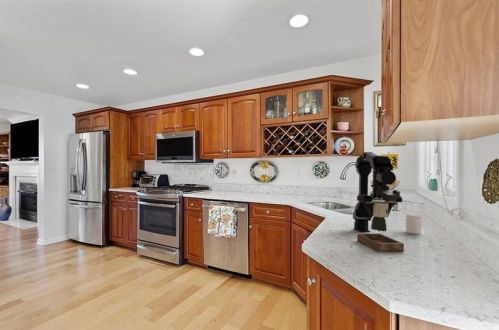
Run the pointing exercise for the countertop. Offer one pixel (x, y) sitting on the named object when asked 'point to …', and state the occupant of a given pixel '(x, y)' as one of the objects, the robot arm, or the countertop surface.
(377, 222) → the character mug
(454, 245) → the countertop surface
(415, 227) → the white cup
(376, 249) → the box
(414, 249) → the countertop surface
